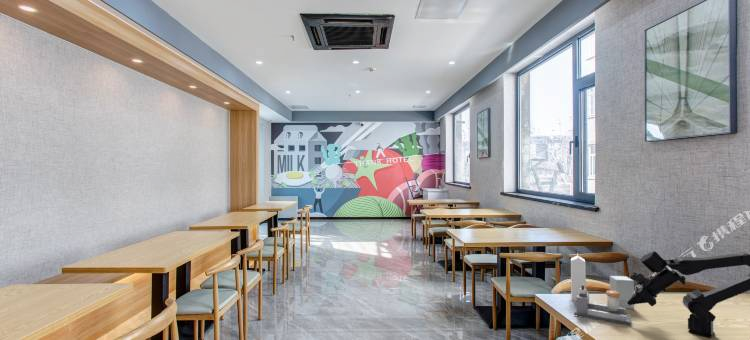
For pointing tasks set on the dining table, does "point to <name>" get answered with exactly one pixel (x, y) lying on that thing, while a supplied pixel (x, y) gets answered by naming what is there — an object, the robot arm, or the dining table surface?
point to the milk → (577, 275)
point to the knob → (613, 301)
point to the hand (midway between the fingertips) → (628, 303)
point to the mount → (600, 311)
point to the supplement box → (623, 289)
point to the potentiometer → (582, 291)
